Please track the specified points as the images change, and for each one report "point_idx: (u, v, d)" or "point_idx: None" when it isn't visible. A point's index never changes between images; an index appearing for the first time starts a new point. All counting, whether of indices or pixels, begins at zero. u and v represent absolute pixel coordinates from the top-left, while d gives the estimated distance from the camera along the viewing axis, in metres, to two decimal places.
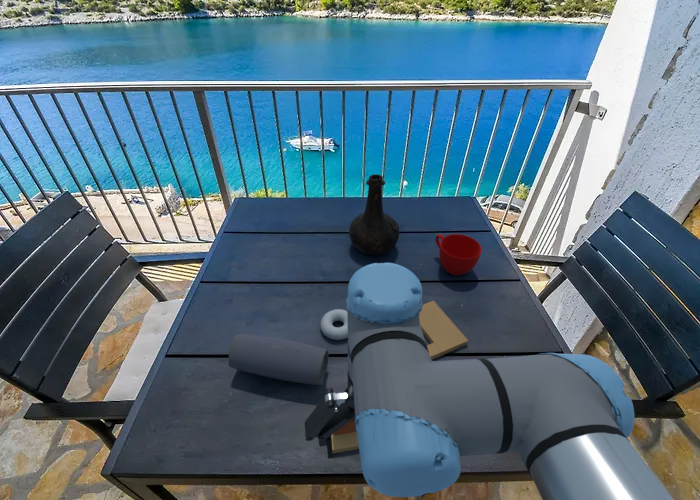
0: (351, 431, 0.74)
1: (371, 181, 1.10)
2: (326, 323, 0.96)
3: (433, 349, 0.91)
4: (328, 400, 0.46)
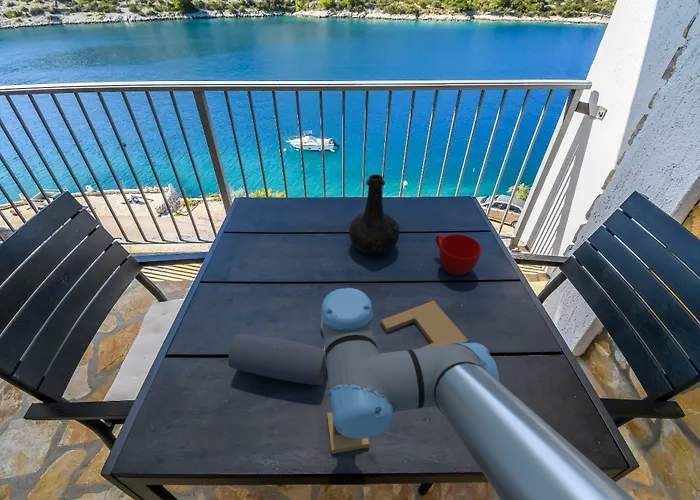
0: None
1: (371, 181, 1.10)
2: None
3: None
4: None
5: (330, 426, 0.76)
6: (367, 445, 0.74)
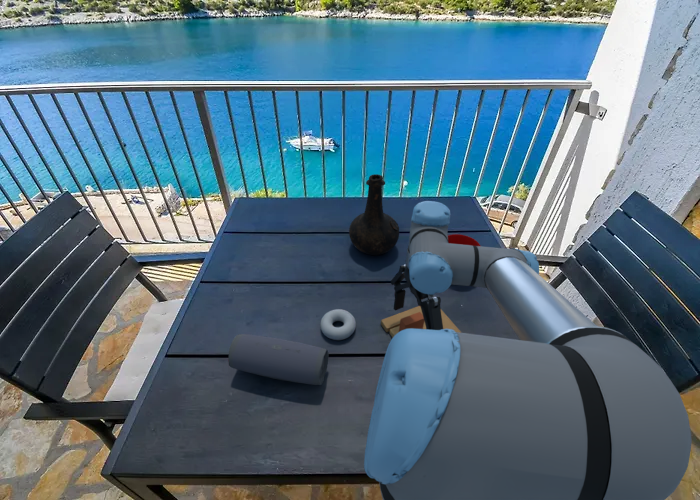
0: None
1: (371, 181, 1.10)
2: (326, 323, 0.96)
3: None
4: (403, 265, 0.86)
5: None
6: None
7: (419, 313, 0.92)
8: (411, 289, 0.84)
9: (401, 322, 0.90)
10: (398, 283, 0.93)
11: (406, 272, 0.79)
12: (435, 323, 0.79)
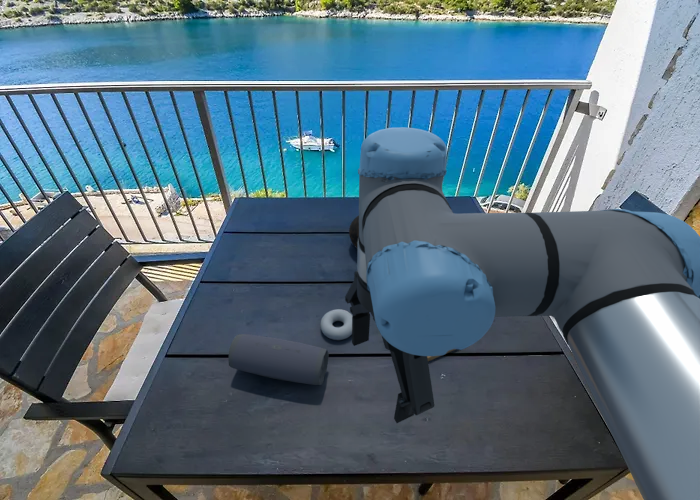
0: None
1: None
2: (326, 323, 0.96)
3: None
4: None
5: None
6: None
7: None
8: (374, 316, 0.45)
9: None
10: (357, 301, 0.53)
11: (358, 284, 0.39)
12: (416, 387, 0.39)
